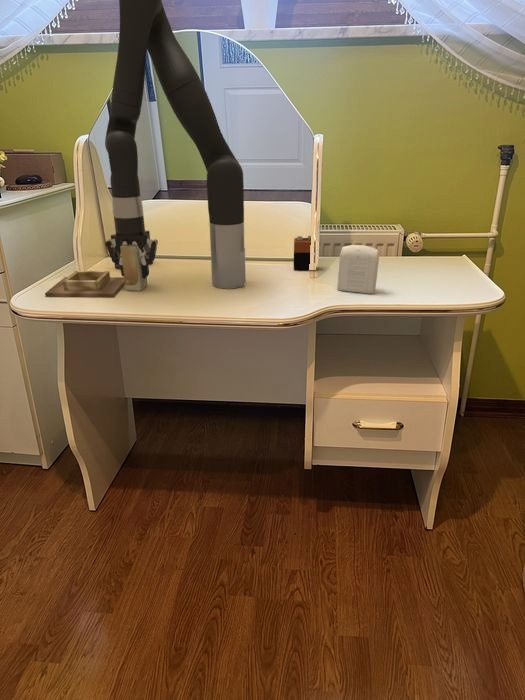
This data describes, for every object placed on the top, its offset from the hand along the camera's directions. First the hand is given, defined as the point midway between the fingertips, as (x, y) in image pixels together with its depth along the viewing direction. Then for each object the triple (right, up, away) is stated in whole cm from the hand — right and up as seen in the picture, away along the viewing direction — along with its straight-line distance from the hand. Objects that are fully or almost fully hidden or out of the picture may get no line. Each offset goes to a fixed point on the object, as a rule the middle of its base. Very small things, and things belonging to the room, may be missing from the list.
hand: (135, 277), depth 141 cm
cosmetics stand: (-13, -3, +1) cm, 13 cm away
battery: (+47, +5, +17) cm, 51 cm away
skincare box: (0, -3, +1) cm, 3 cm away
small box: (-6, +6, +21) cm, 22 cm away
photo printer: (+60, -4, -1) cm, 60 cm away
